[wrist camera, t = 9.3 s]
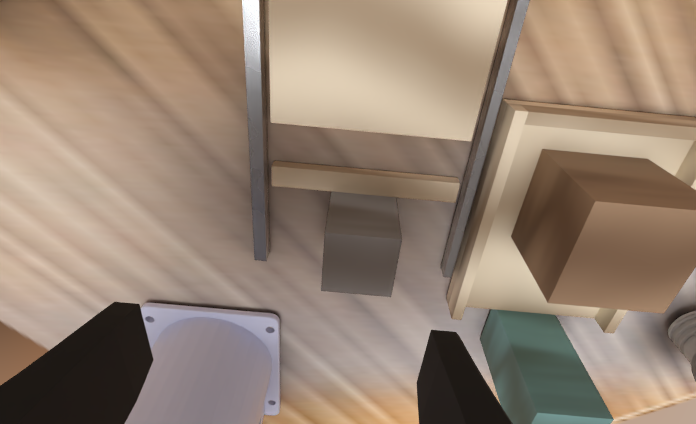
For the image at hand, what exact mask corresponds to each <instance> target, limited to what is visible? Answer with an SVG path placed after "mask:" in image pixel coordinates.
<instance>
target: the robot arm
mask: <svg viewBox="0 0 696 424" xmlns="http://www.w3.org/2000/svg"><path fill="white" fill-rule="evenodd" d="M269 327H272V328H269ZM417 395H418V411H419V424H513V423H512V422H511V420H510V419H509V417H508V416H507V414H506V413H505V411H504V410H503V408H502V407H501V405H500V404H499V402H498V400H497V399H496V397H495V396H494V394H493V393H492V391H491V389H490V388H489V386H488V385H487V383H486V381H485V380H484V378H483V376H482V375H481V373H480V371H479V370H478V368H477V366H476V365H475V363H474V361H473V360H472V358H471V356H470V354H469V353H468V351H467V349H466V347H465V346H464V344H463V342H462V340H461V339H460V337H459V335H458V334H457V333H456V332H449V331H438V330H431V333H430V336H429V340H428V344H427V347H426V351H425V355H424V358H423V362H422V366H421V369H420V373H419V376H418V380H417ZM279 411H280V320H279V317H278V316H277V315H275V314H272V313H262V312H251V311H240V310H228V309H217V308H206V307H194V306H183V305H172V304H160V303H145V304H143V306H142V307H141V309H140V305H139V304H132V303H120V302H114V303H112V304H111V305H110V306H108V307H107V308H106V309H104V310H103V311H101V312H100V313H99V314H97V315H96V316H95V317H93V318H92V319H91V320H89V321H88V322H87V323H86V324H84V325H83V326H82V327H80V328H79V329H78V330H76V331H75V332H74V333H72V334H71V335H70V336H68V337H67V338H66V339H64V340H63V341H62V342H60V343H59V344H58V345H56V346H55V347H54V348H52V349H51V350H50V351H48V352H47V353H45V354H44V355H43V356H41V357H40V358H39V359H37V360H36V361H35V362H33V363H32V364H31V365H29V366H28V367H26V368H25V369H24V370H22V371H21V372H20V373H18V374H17V375H15V376H14V377H12V378H11V379H9V380H8V381H7V382H5V383H4V384H2V385H1V386H0V424H262V422H263V417H264V415H277V414H278V413H279Z"/></svg>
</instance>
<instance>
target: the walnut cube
mask: <svg viewBox="0 0 696 424" xmlns="http://www.w3.org/2000/svg"><path fill="white" fill-rule="evenodd" d="M511 238H512V240H513V241H514V243H515V245H516V247H517V249H518V250H519V252H520V254H521V256H522V258H523V259H524V261H525V263H526V265H527V267H528V268H529V270H530V272H531V274H532V276H533V277H534V279H535V281H536V283H537V285H538V286H539V288H540V290H541V292H542V294H543V295H544V297H545V299H546V301H547V303H552V304H563V305H574V306H585V307H597V308H608V309H619V310H630V311H641V312H653V313H665V311H666V310H667V308H668V307H669V305H670V304H671V302H672V301H673V299H674V298H675V297H676V295H677V294H678V292H679V291H680V289H681V288H682V286H683V285H684V283H685V282H686V280H687V279H688V278H689V276H690V275H691V273H692V272H693V270H694V269H695V267H696V190H695V189H693V188H692V187H690V186H689V185H687V184H686V183H684V182H683V181H681V180H680V179H678V178H677V177H675V176H673V175H672V174H670V173H669V172H667V171H666V170H664V169H663V168H661V167H660V166H658V165H657V164H655V163H654V162H652V161H650V160H649V159H645V158H635V157H624V156H613V155H603V154H592V153H581V152H570V151H560V150H549V149H542V151H541V154H540V157H539V159H538V162H537V165H536V168H535V171H534V173H533V176H532V179H531V182H530V185H529V187H528V190H527V193H526V196H525V198H524V201H523V204H522V207H521V210H520V212H519V215H518V218H517V221H516V224H515V226H514V229H513V232H512V235H511Z"/></svg>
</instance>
